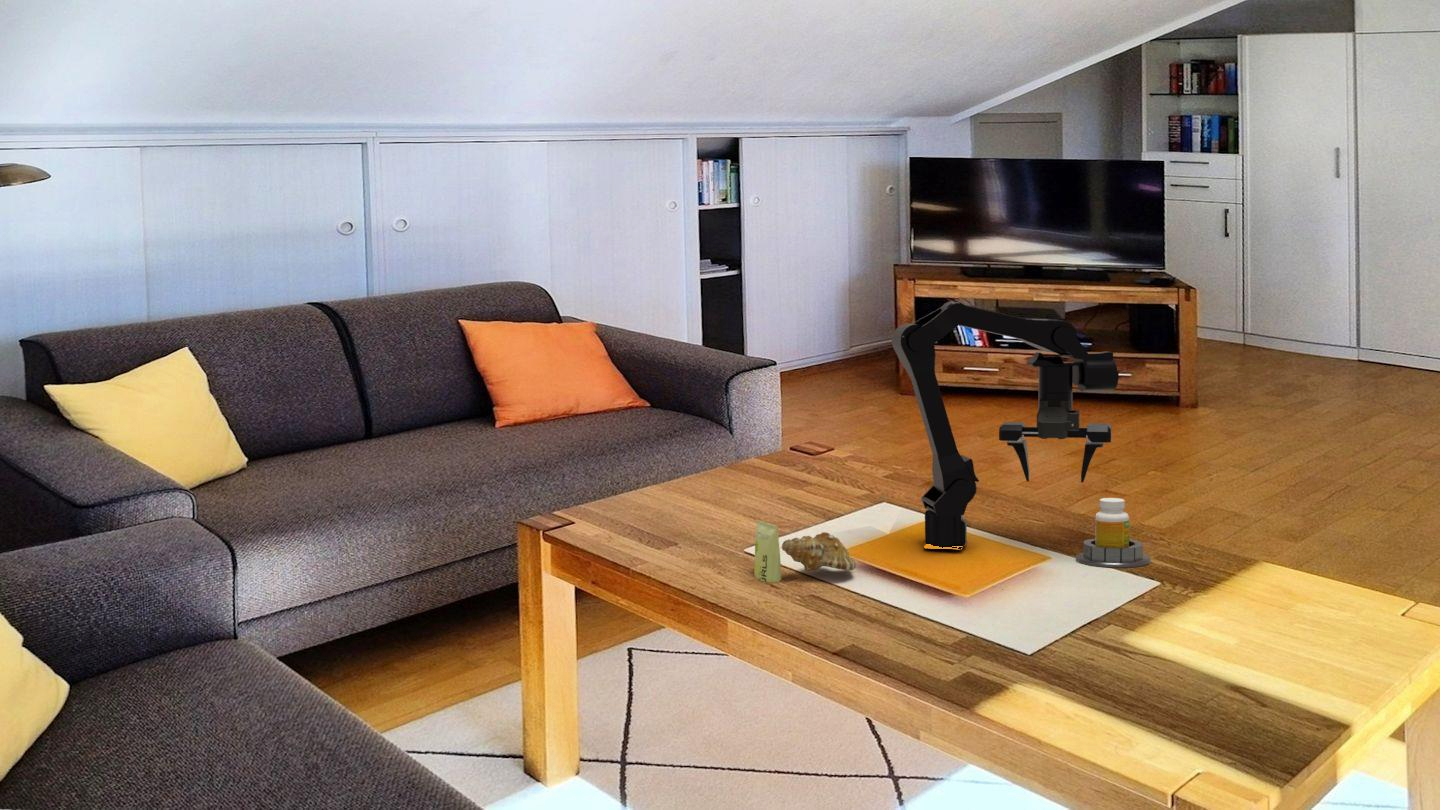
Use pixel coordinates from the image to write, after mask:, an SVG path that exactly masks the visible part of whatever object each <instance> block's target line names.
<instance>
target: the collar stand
mask: <svg viewBox="0 0 1440 810" xmlns="http://www.w3.org/2000/svg"><path fill="white" fill-rule="evenodd" d="M1143 548H1144V546H1143V542H1142V541H1140V540H1139V541H1138V540H1136V539H1131V538H1129V547H1103V546H1096V545H1095V538H1089V539H1085V540H1084V541H1083V552H1079V553H1077V554H1076V555H1075V561H1076V563H1077V562H1078V563H1079V564H1082V565H1084V566H1085V565H1086V566H1091V567H1098V568H1109V569H1110V568H1112V569H1124V568H1125V569H1126V568H1127V569H1128V568H1137V567H1143V566H1147V565H1150V564H1151V560H1152V559H1151V557H1150V556H1148V555H1147V554H1144V553H1143V552H1144V551H1143V550H1144V549H1143Z"/></svg>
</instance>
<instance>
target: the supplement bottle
mask: <svg viewBox="0 0 1440 810" xmlns="http://www.w3.org/2000/svg"><path fill="white" fill-rule="evenodd" d="M1125 503H1126V502H1125V499H1123V498H1120V497H1119V498H1118V497H1103V498H1100V499H1099V508H1100V510H1101V511H1098V512H1096V514H1095V522H1094V523H1095V530H1094V531H1095V537H1094V539H1095V545H1096V546H1103V547H1129V539H1130V516H1129V514H1128V513H1127V512H1125V511H1124V510H1125V508H1126V506H1125V505H1126V504H1125Z"/></svg>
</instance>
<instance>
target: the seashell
mask: <svg viewBox="0 0 1440 810" xmlns="http://www.w3.org/2000/svg"><path fill="white" fill-rule="evenodd" d="M780 548H781V550H782V551H784V552H785V554H787V555H788V556H790V557H791V558H792V560H793V561H794V562H797V563H800V564H801V565H803V567H804V571H805V572H809V571H816V570H818V569H821V568H822V567H825V568H826V567H828V568H831V569H832V568H833V569H837V570H841V571H842V570H843V571H854V570H855V569H856V568H857V566H856V565H857V563H856V561H855V560H854V559H853V558H852V557H850V553H849V551H848V549H847V548H846V547H845V545H844V544H843V542H842V541H841V540H840V539H839V538H838V537H837V536H834V535H833V534H830V533H829V532H826V531H822V532H821V533H819V534H816V535H815V536H814V537H812V536H810V535H803V536H802V537H801V538H799V537H793V538H792V539H785V540H784V541H783V542H782V544H781V547H780Z"/></svg>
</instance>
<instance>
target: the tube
mask: <svg viewBox="0 0 1440 810" xmlns="http://www.w3.org/2000/svg"><path fill="white" fill-rule="evenodd" d="M755 527H756V528H755V543H754V544H755V545H754V568H753V569H754V574H753V575H754V577H755V578H756V579H757V580H759V581H761V582H765V583H777V582H780V581H781V580H782V568H781V567H782V565H781V564H782V563H781V562H782V561H781V553H780V552H781V550H780V548H781V547H780V541H779V540H780V538H779V532H778V525H776V524H772V523H769V522H765V521H762V520H760V519H756V525H755Z"/></svg>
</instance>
